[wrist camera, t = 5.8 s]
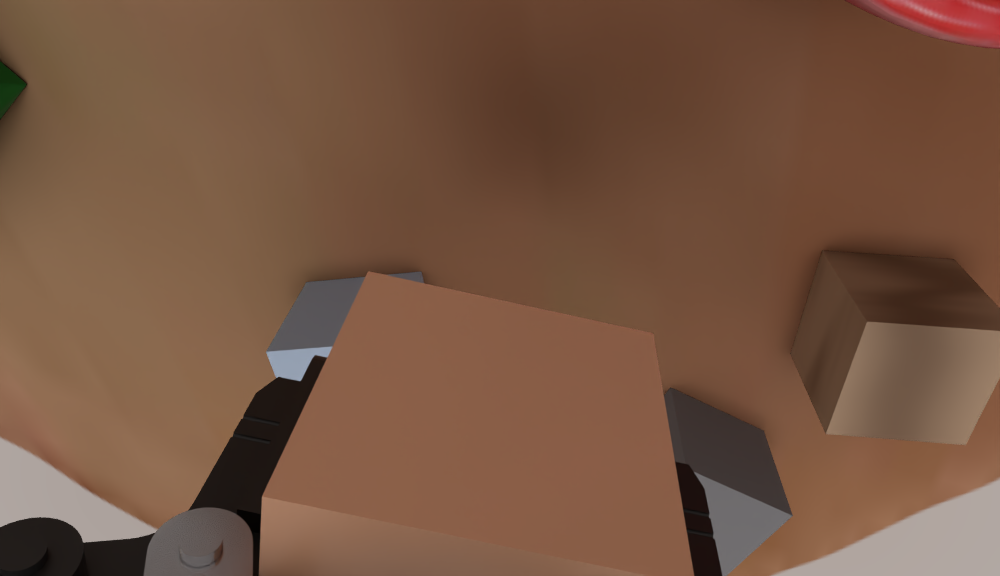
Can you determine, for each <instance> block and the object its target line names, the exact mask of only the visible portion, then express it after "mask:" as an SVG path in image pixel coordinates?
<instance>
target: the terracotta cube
mask: <svg viewBox="0 0 1000 576" xmlns="http://www.w3.org/2000/svg"><path fill="white" fill-rule="evenodd" d="M259 576H694V572H693V566H692V560H691V554H690V548H689V542H688V536H687V530H686V524H685V518H684V513H683V507H682V501H681V495H680V489H679V483H678V477H677V471H676V465H675V459H674V453H673V447H672V441H671V435H670V429H669V423H668V417H667V411H666V406H665V400H664V394H663V388H662V382H661V376H660V370H659V364H658V358H657V352H656V346H655V340H654V334H653V333H650V332H645V331H641V330H636V329H631V328H627V327H622V326H618V325H613V324H609V323H604V322H599V321H595V320H590V319H586V318H581V317H576V316H572V315H567V314H563V313H558V312H553V311H549V310H544V309H540V308H535V307H530V306H526V305H521V304H517V303H512V302H508V301H503V300H498V299H494V298H489V297H485V296H480V295H475V294H471V293H466V292H462V291H457V290H452V289H448V288H443V287H439V286H434V285H429V284H425V283H420V282H416V281H411V280H407V279H402V278H397V277H393V276H388V275H384V274H379V273H374V272H370V271H368V272H367V275H366V277H365V279H364V281H363V283H362V285H361V287H360V289H359V292H358V294H357V296H356V298H355V300H354V302H353V304H352V306H351V309H350V311H349V313H348V315H347V317H346V319H345V321H344V323H343V326H342V328H341V330H340V332H339V334H338V336H337V338H336V340H335V343H334V345H333V347H332V349H331V351H330V353H329V355H328V357H327V359H326V362H325V364H324V366H323V368H322V370H321V372H320V374H319V376H318V379H317V381H316V383H315V385H314V387H313V389H312V391H311V393H310V396H309V398H308V400H307V402H306V404H305V406H304V408H303V410H302V413H301V415H300V417H299V419H298V421H297V423H296V425H295V427H294V430H293V432H292V434H291V436H290V438H289V440H288V442H287V444H286V447H285V449H284V451H283V453H282V455H281V457H280V459H279V461H278V463H277V466H276V468H275V470H274V472H273V474H272V476H271V478H270V480H269V483H268V485H267V487H266V489H265V491H264V493H263V495H262V508H261V533H260V557H259Z"/></svg>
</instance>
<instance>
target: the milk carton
mask: <svg viewBox="0 0 1000 576" xmlns="http://www.w3.org/2000/svg"><path fill="white" fill-rule="evenodd" d="M26 85H27V84H26V83H25V82H24V81H22V80H21V79H20V78H19V77H18V76H17V75H15V74H14V73H13V72H12V71H11V70H10V69H9V68H7V67H6V66H5V65H4V64H3V63H2V62H0V119H1V118H2V116H3V115H4V114H5V113H6V111H7V110H8V109H9V107H10V106H11V105H12V103H13V102H14V101H15V100H16V98H17V97H18V96H19V94H20V93H21V92H22V90H23V89H24V88H25V87H26Z"/></svg>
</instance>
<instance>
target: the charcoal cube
mask: <svg viewBox="0 0 1000 576" xmlns="http://www.w3.org/2000/svg"><path fill="white" fill-rule="evenodd" d="M664 400H665V406H666V411H667V417H668V423H669V429H670V435H671V441H672V447H673V453H674V459H675V462H680V463H684V464H689V465H690V467H691V468H692V470H693V472H694V473H695V475H696V476H697V478H698V479H699V481H700V482H701V484H702V485H703V487H704V489H705V493H706V498H707V503H708V508H709V513H710V514H709V518H711V522H712V527H713V532H714V535H713V539H715V542H716V547H717V552H718V556H719V561H720V566H721V571H722V576H727V575H728V574H729V573H730V572H731V571H732V570H733V569H734V568H735V567H737V566H738V565H739V564H740V563H741V562H742V561H743V560H744V559H745V558H746V557H748V556H749V555H750V554H751V553H752V552H753V551H754V550H755V549H756V548H758V547H759V546H760V545H761V544H762V543H763V542H764V541H765V540H766V539H767V538H769V537H770V536H771V535H772V534H773V533H774V532H775V531H776V530H777V529H778V528H780V527H781V526H782V525H783V524H784V523H785V522H786V521H787V520H788V519H789V518H791V517H792V516H793V515H792V512H791V510H790V507H789V504H788V501H787V498H786V495H785V492H784V489H783V486H782V483H781V480H780V477H779V474H778V472H777V469H776V466H775V463H774V460H773V457H772V454H771V451H770V448H769V445H768V442H767V439H766V436H765V433H764V431H763V430H761V429H759V428H757V427H754V426H752V425H750V424H748V423H746V422H744V421H741V420H739V419H737V418H735V417H733V416H731V415H729V414H726V413H724V412H722V411H720V410H718V409H716V408H714V407H711V406H709V405H707V404H705V403H703V402H701V401H698V400H696V399H694V398H692V397H690V396H688V395H686V394H683V393H681V392H679V391H677V390H675V389H673V388H670V389H669V390H668V391H667V393H666V394H665V395H664Z"/></svg>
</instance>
